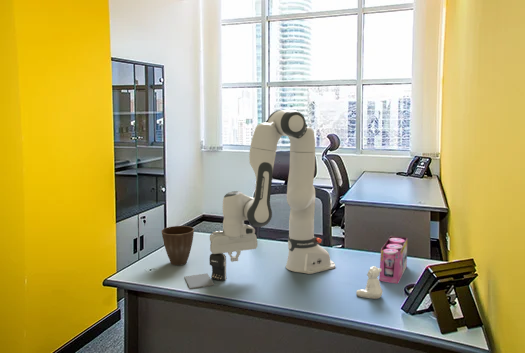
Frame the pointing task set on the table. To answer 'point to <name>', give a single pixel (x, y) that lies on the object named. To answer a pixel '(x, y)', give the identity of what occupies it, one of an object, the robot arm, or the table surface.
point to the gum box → (393, 259)
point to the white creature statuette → (371, 285)
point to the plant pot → (178, 243)
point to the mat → (199, 281)
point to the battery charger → (218, 266)
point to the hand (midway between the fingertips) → (234, 261)
